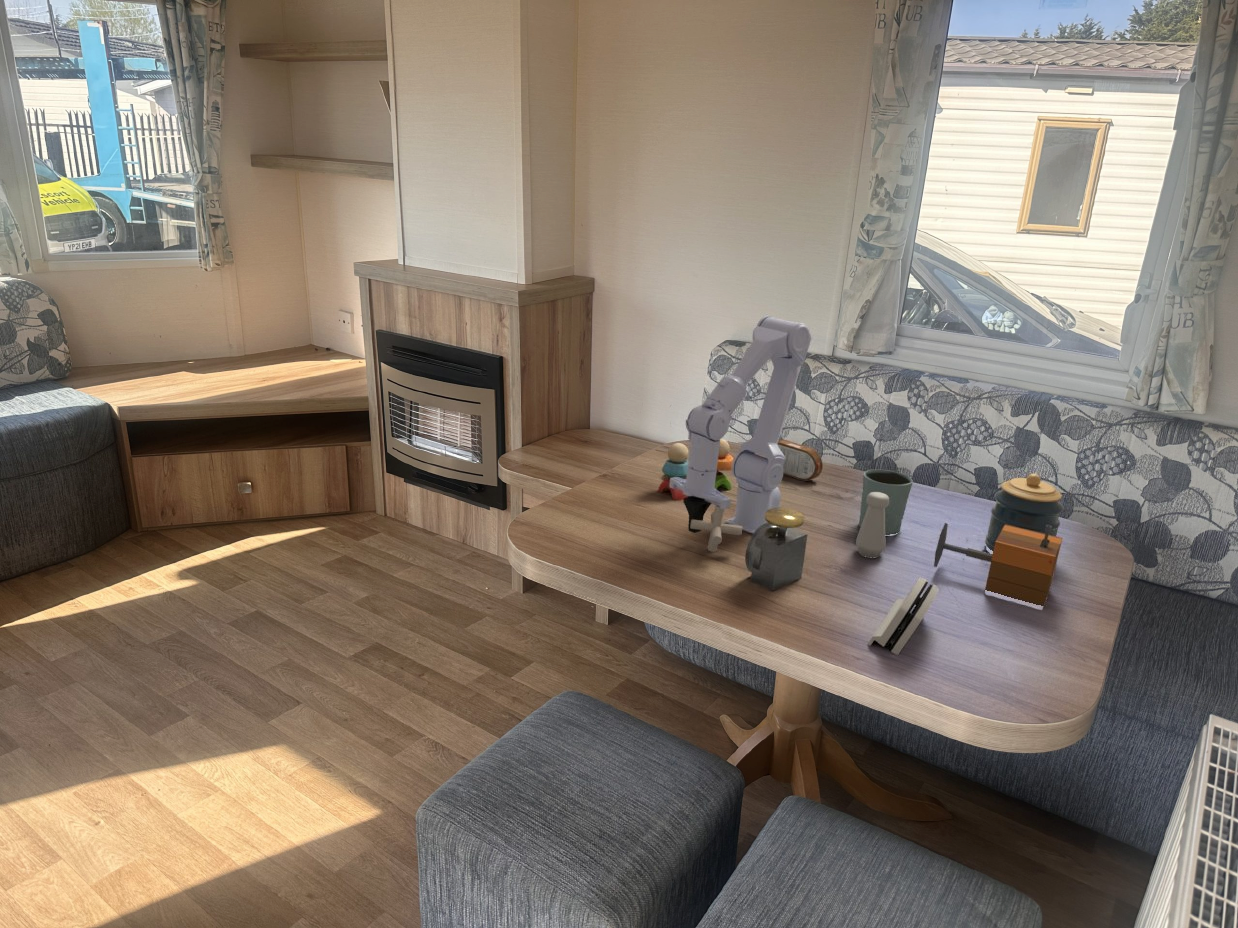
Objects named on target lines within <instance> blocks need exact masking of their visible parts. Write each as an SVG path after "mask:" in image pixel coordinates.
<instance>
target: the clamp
mask: <svg viewBox="0 0 1238 928" xmlns="http://www.w3.org/2000/svg"><path fill="white" fill-rule="evenodd" d="M948 527H949V524H948V523H947V522H944V525H943V527H942V529H941V532H940V534H939V537H938V541H937V545H936V550H935V553H934V562H933V567H935V568H937V567H938V565H939V563H940V560H941V559H942V555H943V552H944V550H947V551H951V552H955V553H958V554H963V555H965V556H966V557H969V558H972V559H978V560H981V561H985V562H989V563H990V565H989V569H988V574H987V580H986V583H985V586H984V587H985V588H984V591H985V590H987V591H991V592H994V593H998V594H1001V595H1004V596H1007V597H1011V598H1014V599H1018V600H1022V601H1025V602H1029V603H1033V604H1036V605H1041V606H1044V607H1045V605H1046V602H1047V599H1048V597H1047V596H1049V594H1048V593H1050V591H1051V588H1052V583H1053V579H1054V575H1055V570H1056V567H1057V564H1058V563H1057V562H1058V557H1059V555H1060V550H1061V546H1062V542H1063V537H1060V536H1057V535H1056V536H1052V535H1049V532H1050V531H1051V528H1052V526H1050V525H1046V528H1045V532H1046V533H1045V534H1044V533H1040V532H1036V531H1031V530H1027V529H1023V528H1019V527H1015V526H1011V525H1006V524H1005V526H1004V527H1003V529H1002V531H1001V533H1000V534H999V536H998V538H997V540H996V542H995V546H994V550H993V554H990V553H988V552H985V551H982V550H977V549H973V548H970V547H967V548H965V547H962V546H961V547H960V546H957V545H953V544H949V543H946V541H947V535H948ZM1050 587H1051V588H1050ZM1049 590H1050V591H1049ZM1046 598H1047V599H1046ZM1045 601H1046V602H1045ZM1044 604H1045V605H1044Z"/></svg>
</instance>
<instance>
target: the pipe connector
mask: <svg viewBox="0 0 1238 928" xmlns="http://www.w3.org/2000/svg"><path fill="white" fill-rule="evenodd" d="M724 512H725V509H724V510H723V509H721V508H720V506H717V505H715V507H714V511H713V512H711V514H710V521H707V520H703V521H701V520H693V519H692V520H691V526H690V528H691V529H698V530H701V531H707V532H710V534H709V538H708V542H707V543H708V544H707V551H709V552H712V553H713V552H717V549H718V545H720V544H721V543H722V534H729V535H735V536H742V534H743V533H742V532H743V530H742V526H738V525H730V524H728V523H723V518H724Z"/></svg>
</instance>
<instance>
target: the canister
mask: <svg viewBox="0 0 1238 928" xmlns="http://www.w3.org/2000/svg"><path fill="white" fill-rule="evenodd" d="M1041 479H1042V478H1041V477H1040V475H1038V474H1037V473H1030V474H1029V475H1027V476H1026V477H1014V478H1012V479H1010V480H1006V481H1003V482H1002V483H1001V485H1000V487H1001V490H998V491H996V492H995V494H994V496H993V497H994V499H995V500H996V501H995V504H994V506H993V507H992V508H991V510H990V511H991V513H990V514H991V516H990V519H989V520H990V521H989V524H988V529H987V534H986V535H985V539H984V544H986V546H987V547H988V548H989V549H990V550H992V551H993V550H994V546H995V542H996V540H997V538H998V536H999V534H1000V533H1001V531H1002V529H1003V527H1004V526H1005V524H1006V525H1011V526H1015V527H1019V528H1023V529H1027V530H1031V531H1036V532H1040V533H1044V534H1045V533H1046V532H1045V528H1046V525H1050V526H1052V528H1051V531H1050V532H1049V535H1052V536H1057V534H1058V529H1059V527H1060V525H1061V521H1060V520H1059V519H1060V517H1059V516H1060V514H1061V513H1062V512H1063V511H1064V505H1063V504H1062V503H1061V502H1060V500H1061V499H1062V497H1063V496H1062V495H1063V494H1062V493H1060V491H1059V490H1057V489H1056V488H1055V486H1053V485H1051V484H1050V483H1048V482H1045V481H1042V480H1041Z"/></svg>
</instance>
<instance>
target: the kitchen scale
mask: <svg viewBox="0 0 1238 928" xmlns="http://www.w3.org/2000/svg"><path fill="white" fill-rule="evenodd" d="M765 520H766V521H767V522H768V523H765V524H763V525H761V526H760V527H759V528H758V529H757V530H756V531H755V532H754V534H752V535H751V537H750V538H749V541H748V543H747V547H746V549H745V556H744V558H745V559H744V560H745V562H744V563H745V565H746V568H747V571H749V572H751V575H750V582H752V583H754V584H756V585H757V586H760V587H762V588H764V589H766V590H768V591H770V592H774V591H775V590H778V589H781V588H782V587H785V586H787V585H789V584H791V583H794V582H796V581H798V580H800V579H802V577H803V576H802V575H803V570H804V563H805V562H804V561H805V554H806V549H807V548H806V547H807V540H808V533H806V532H804V531H802V530H799V529H797V528H799V527H802V526H803V525H804V522H805V521H804V520H805V515H803V514H802V513H801V512H800V511H797V510H795V509H790V508H783V507H779V508H772V509H768V510H767V511H766V512H765Z"/></svg>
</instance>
